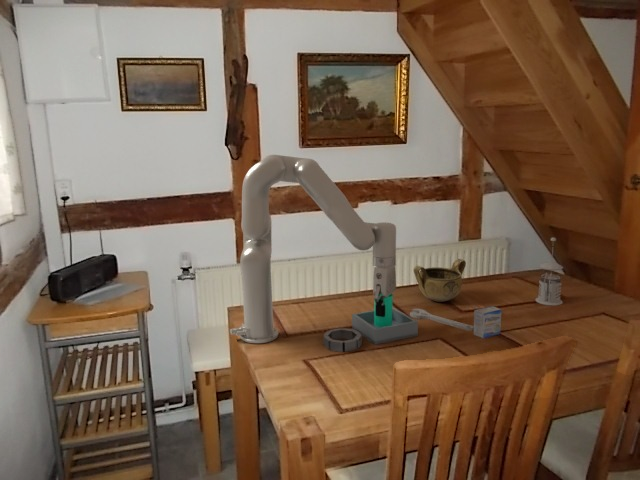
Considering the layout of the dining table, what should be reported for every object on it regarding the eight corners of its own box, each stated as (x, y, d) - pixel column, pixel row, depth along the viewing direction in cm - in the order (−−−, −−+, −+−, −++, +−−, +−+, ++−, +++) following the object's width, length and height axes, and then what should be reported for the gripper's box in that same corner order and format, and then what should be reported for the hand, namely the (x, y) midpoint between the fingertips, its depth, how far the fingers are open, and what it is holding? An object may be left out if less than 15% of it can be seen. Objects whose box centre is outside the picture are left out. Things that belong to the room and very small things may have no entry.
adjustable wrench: (475, 330, 189) (475, 326, 189) (463, 336, 185) (463, 331, 185) (417, 311, 208) (417, 307, 207) (405, 316, 204) (405, 311, 203)
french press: (564, 299, 217) (569, 236, 211) (559, 308, 207) (564, 242, 202) (538, 295, 222) (542, 233, 216) (531, 304, 212) (535, 239, 207)
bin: (374, 344, 178) (374, 329, 177) (352, 327, 193) (351, 314, 192) (417, 335, 185) (417, 321, 183) (392, 320, 199) (392, 306, 198)
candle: (395, 325, 187) (396, 291, 184) (380, 329, 184) (381, 294, 181) (385, 320, 192) (386, 286, 189) (370, 323, 189) (371, 289, 186)
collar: (333, 354, 172) (333, 345, 171) (318, 340, 182) (318, 332, 182) (367, 347, 176) (367, 338, 176) (350, 334, 187) (350, 326, 186)
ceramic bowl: (449, 289, 232) (450, 254, 228) (476, 301, 216) (478, 263, 213) (403, 297, 223) (404, 261, 219) (428, 310, 208) (429, 271, 204)
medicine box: (482, 339, 181) (483, 313, 179) (472, 334, 185) (474, 309, 183) (500, 334, 185) (502, 309, 183) (490, 329, 188) (492, 305, 186)
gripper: (386, 268, 174) (385, 323, 178) (403, 255, 189) (402, 306, 193) (363, 265, 177) (363, 320, 181) (382, 253, 192) (381, 303, 196)
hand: (383, 312), depth 187 cm, fingers closed on candle, 5 cm apart
